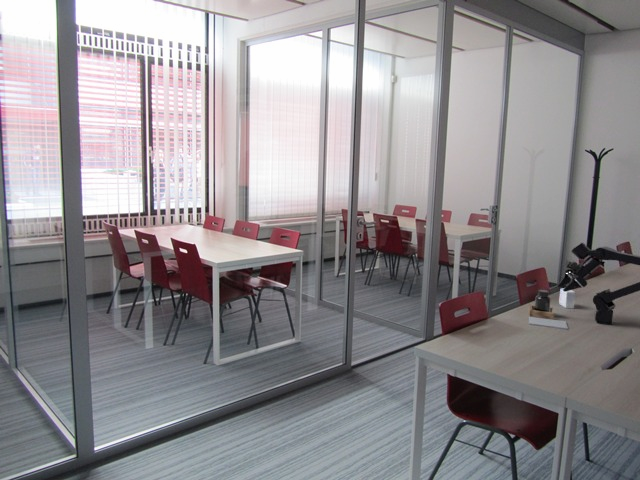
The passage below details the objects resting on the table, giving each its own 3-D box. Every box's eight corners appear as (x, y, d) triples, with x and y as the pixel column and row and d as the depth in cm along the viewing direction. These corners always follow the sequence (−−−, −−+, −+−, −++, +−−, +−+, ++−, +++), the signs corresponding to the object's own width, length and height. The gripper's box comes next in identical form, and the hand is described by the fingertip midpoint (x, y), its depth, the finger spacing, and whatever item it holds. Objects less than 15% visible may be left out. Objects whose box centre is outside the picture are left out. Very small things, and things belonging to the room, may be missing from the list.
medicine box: (573, 308, 261) (575, 292, 260) (565, 308, 261) (567, 291, 260) (566, 304, 269) (568, 288, 268) (558, 303, 269) (560, 287, 268)
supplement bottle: (546, 313, 251) (548, 289, 249) (551, 317, 245) (553, 293, 243) (531, 312, 252) (534, 288, 250) (536, 316, 245) (538, 292, 243)
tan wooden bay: (551, 313, 252) (552, 307, 251) (553, 319, 241) (554, 313, 241) (528, 310, 255) (529, 304, 255) (529, 316, 245) (530, 310, 244)
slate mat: (565, 322, 238) (565, 321, 238) (567, 329, 228) (568, 328, 228) (528, 317, 243) (528, 316, 243) (529, 324, 233) (529, 323, 233)
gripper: (569, 251, 252) (544, 272, 255) (581, 258, 233) (554, 280, 237) (585, 268, 251) (559, 288, 255) (599, 275, 233) (571, 298, 237)
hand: (560, 288), depth 246 cm, fingers open, 9 cm apart
